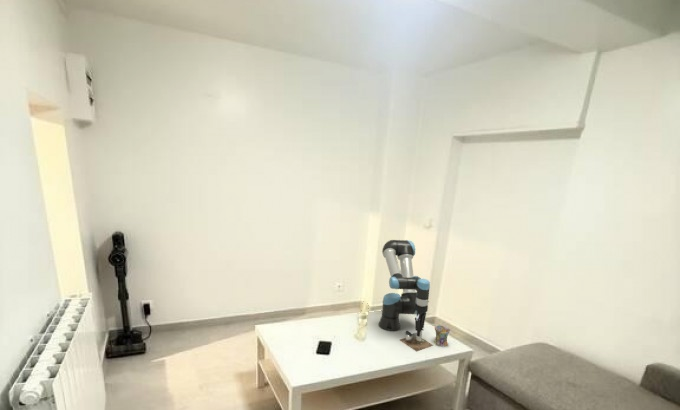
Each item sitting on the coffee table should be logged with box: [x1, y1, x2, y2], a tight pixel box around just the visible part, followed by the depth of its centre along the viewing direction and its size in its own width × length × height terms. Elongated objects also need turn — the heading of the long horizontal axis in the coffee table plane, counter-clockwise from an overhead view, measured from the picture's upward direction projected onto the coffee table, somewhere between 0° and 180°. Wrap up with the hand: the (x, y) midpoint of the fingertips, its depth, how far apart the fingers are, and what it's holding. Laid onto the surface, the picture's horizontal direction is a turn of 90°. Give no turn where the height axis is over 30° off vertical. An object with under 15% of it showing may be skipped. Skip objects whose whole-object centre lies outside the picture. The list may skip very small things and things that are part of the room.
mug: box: [433, 325, 451, 348], centre depth 202 cm, size 12×9×11 cm
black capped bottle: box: [404, 330, 423, 342], centre depth 203 cm, size 12×4×6 cm, turn 117°
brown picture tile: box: [399, 337, 434, 352], centre depth 200 cm, size 15×15×1 cm
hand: (418, 340), depth 200 cm, fingers closed
